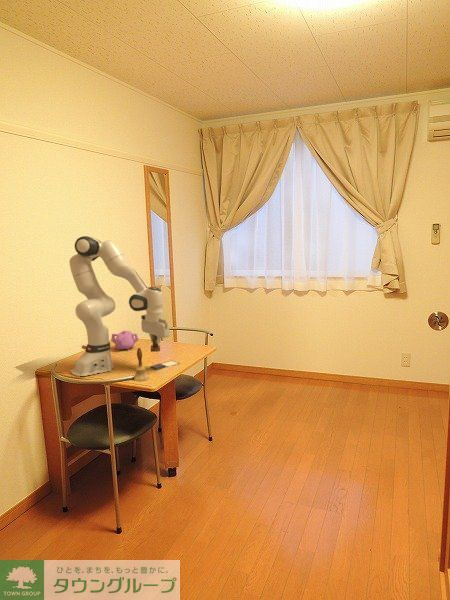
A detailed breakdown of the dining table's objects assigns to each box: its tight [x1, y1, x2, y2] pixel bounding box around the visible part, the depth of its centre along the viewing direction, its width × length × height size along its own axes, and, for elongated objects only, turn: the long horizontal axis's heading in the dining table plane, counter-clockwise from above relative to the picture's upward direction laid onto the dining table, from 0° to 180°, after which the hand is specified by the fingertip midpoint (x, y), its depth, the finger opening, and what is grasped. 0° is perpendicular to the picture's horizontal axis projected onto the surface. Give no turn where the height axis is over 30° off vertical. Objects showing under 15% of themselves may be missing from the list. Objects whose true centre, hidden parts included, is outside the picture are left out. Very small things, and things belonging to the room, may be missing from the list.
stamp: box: [150, 335, 161, 353], centre depth 221 cm, size 5×4×9 cm
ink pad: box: [149, 363, 167, 371], centre depth 223 cm, size 6×5×1 cm
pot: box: [110, 330, 139, 351], centre depth 262 cm, size 18×17×12 cm
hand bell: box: [133, 347, 150, 382], centre depth 206 cm, size 8×8×16 cm
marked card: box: [160, 360, 181, 368], centre depth 229 cm, size 8×8×1 cm
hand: (155, 342), depth 221 cm, fingers closed on stamp, 3 cm apart
